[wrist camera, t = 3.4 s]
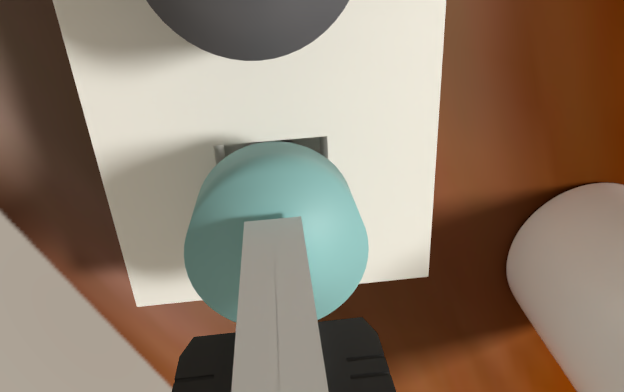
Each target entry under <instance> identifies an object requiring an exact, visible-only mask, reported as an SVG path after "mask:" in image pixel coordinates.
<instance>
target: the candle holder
mask: <svg viewBox="0 0 624 392" xmlns="http://www.w3.org/2000/svg"><path fill="white" fill-rule="evenodd" d="M506 274H507V280H508V284H509V287H510V290H511V292H512V294H513V296H514V297H515V299H516V301H517V302H518V304H519V306H520V307H521V309H522V310H523V312H524V313H525V315H526V316H527V318H528V319H529V321H530V323H531V324H532V326H533V327H534V329H535V330H536V332H537V333H538V335H539V336H540V338H541V339H542V341H543V342H544V344H545V345H546V347H547V348H548V350H549V351H550V353H551V354H552V356H553V357H554V359H555V360H556V362H557V363H558V365H559V366H560V368H561V369H562V370H563V372H564V373H565V375H566V376H567V378H568V379H569V381H570V382H571V384H572V385H573V387H574V388H575V390H576V391H577V392H624V185H622V184H617V183H593V184H587V185H583V186H579V187H576V188H573V189H571V190H568V191H566V192H564V193H562V194H560V195H558V196H556V197H554V198H553V199H551V200H549V201H548V202H546V203H545V204H544V205H542V206H541V207H540V208H539V209H538V210H536V211H535V212H534V213H533V214H532V215H531V216H530V217H529V218H528V219H527V221H526V222H525V223H524V224H523V225H522V227H521V228H520V230H519V231H518V233H517V234H516V236H515V238H514V240H513V242H512V244H511V247H510V250H509V253H508V257H507V264H506Z"/></svg>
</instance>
